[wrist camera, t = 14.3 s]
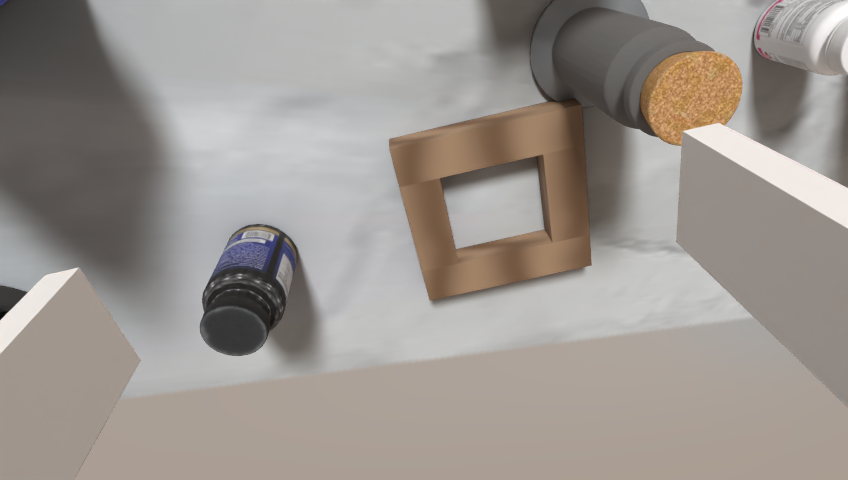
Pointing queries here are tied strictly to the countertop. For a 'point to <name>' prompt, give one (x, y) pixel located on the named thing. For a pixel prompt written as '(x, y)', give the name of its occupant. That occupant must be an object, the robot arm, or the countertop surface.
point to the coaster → (545, 32)
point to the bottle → (646, 72)
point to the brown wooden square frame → (484, 147)
